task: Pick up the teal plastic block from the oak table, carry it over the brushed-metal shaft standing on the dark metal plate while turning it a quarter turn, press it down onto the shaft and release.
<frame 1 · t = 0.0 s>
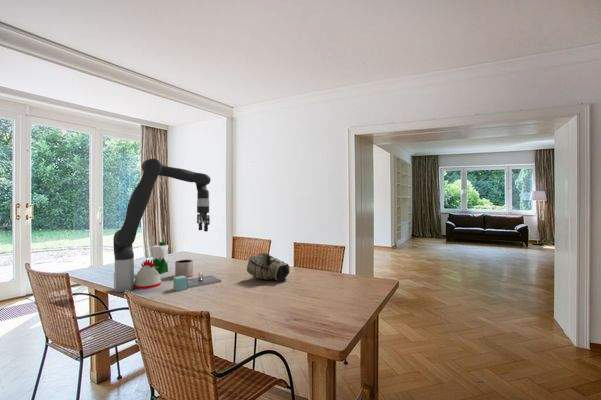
hand: (203, 230, 201), 29 cm above the table, fingers open, 8 cm apart
planter: (184, 276, 202), on the table
milk carton: (160, 272, 212), on the table
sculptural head: (268, 279, 197), on the table
teal plastic block: (180, 288, 174), on the table
shaft plate: (200, 282, 188), on the table
kitchen timer: (147, 285, 181), on the table
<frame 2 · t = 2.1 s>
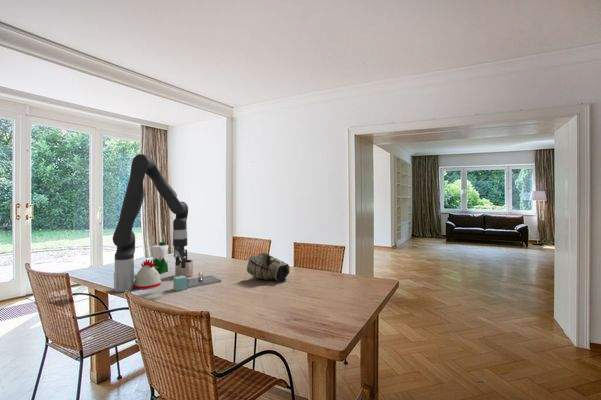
hand: (180, 266, 174), 12 cm above the table, fingers open, 8 cm apart
nothing on the table moved.
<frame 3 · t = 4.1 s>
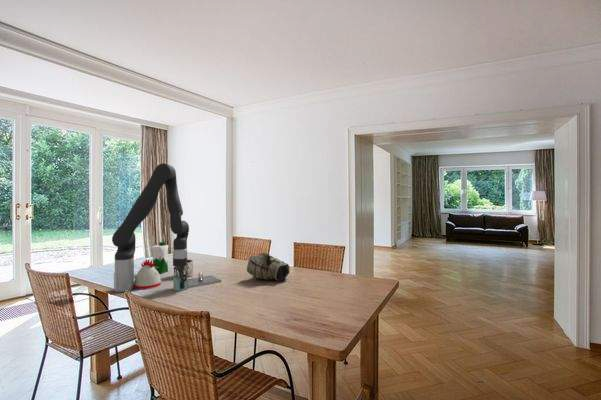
hand: (180, 287, 174), 1 cm above the table, fingers closed on teal plastic block, 5 cm apart
teal plastic block: (180, 288, 174), on the table, touching gripper
everything else where it was.
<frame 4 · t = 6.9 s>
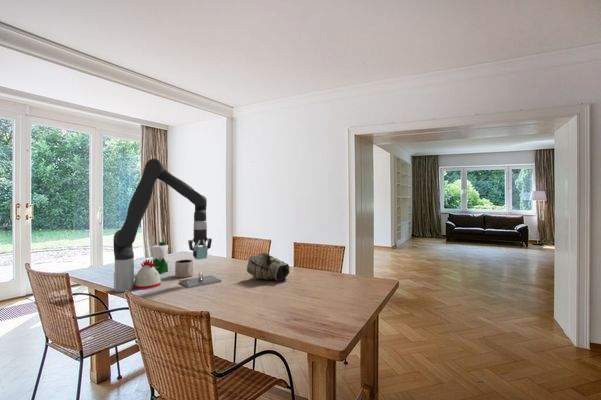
hand: (200, 256, 187), 15 cm above the table, fingers closed on teal plastic block, 5 cm apart
teal plastic block: (200, 258, 187), point 14 cm above the table, touching gripper
everything else where it was.
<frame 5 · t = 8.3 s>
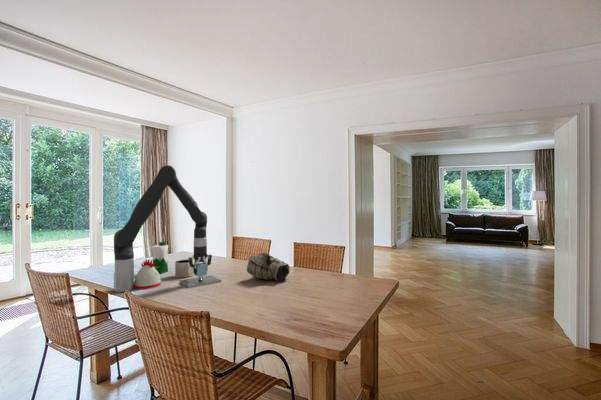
hand: (200, 273, 188), 5 cm above the table, fingers closed on teal plastic block, 5 cm apart
teal plastic block: (200, 274, 188), point 4 cm above the table, touching gripper
everything else where it was.
when the fingers open (4 cm above the table, at t = 9.8 s): teal plastic block drops 1 cm, resting on shaft plate.
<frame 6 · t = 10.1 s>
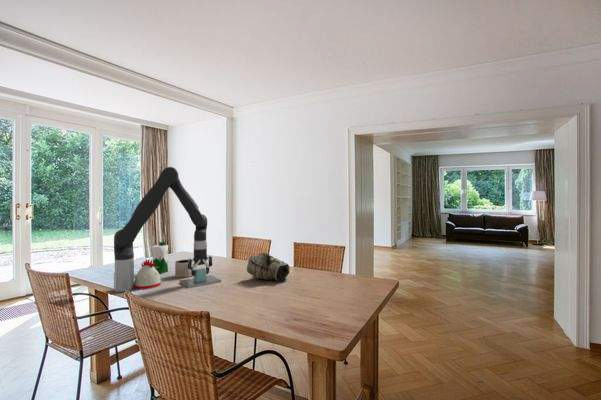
hand: (200, 274, 188), 4 cm above the table, fingers open, 8 cm apart
teal plastic block: (200, 280, 188), point 1 cm above the table, touching shaft plate
everything else where it was.
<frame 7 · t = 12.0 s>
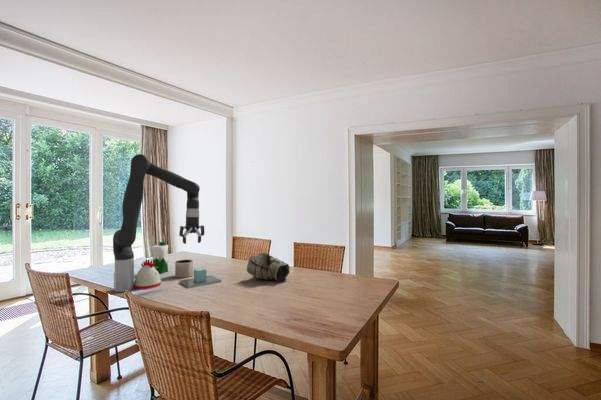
hand: (191, 243, 188), 23 cm above the table, fingers open, 8 cm apart
nothing on the table moved.
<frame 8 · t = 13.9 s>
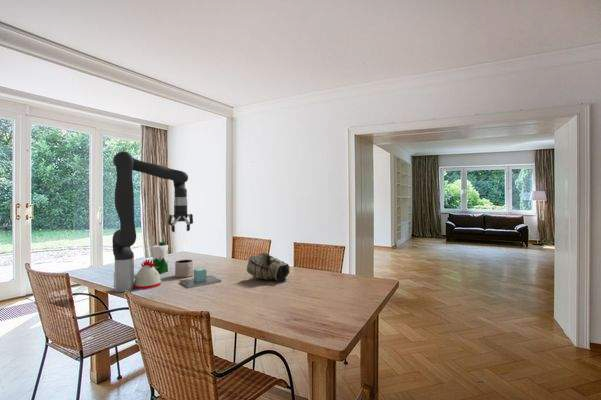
hand: (180, 231, 190), 30 cm above the table, fingers open, 8 cm apart
nothing on the table moved.
at the end: teal plastic block 0.1 cm off-centre on the shaft plate, point 1.3 cm above the shaft plate's base; teal plastic block tilted 1°; the gripper is holding nothing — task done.
